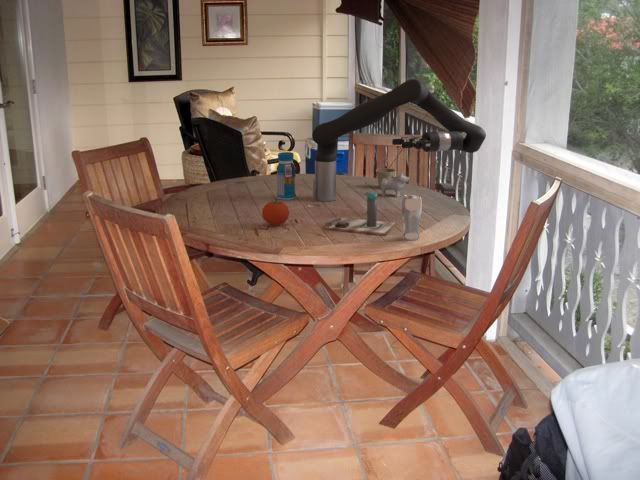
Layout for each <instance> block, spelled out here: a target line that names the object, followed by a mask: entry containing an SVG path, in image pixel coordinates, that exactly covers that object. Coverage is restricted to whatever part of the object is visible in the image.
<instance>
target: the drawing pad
mask: <svg viewBox="0 0 640 480" xmlns="http://www.w3.org/2000/svg"><path fill="white" fill-rule="evenodd" d="M398 225H399V222H394V221H391V222H390V221H385V220H384V221H382V220H377V222H376V227H368V226H367V219H362V218H350V217H341V216H339V217H334V218H333V219H331V220H330V221H328V222H327V225H325V226H324V227H322V230H325V231H335V232H343V233H351V234H354V233H355V234H365V235H371V236H372V235H373V236H383V237H386V236H387V235H388V234H390V233H391V232H392V231H393V230H394V229H395V228H396V227H397V226H398ZM390 231H391V232H390Z"/></svg>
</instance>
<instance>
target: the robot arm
mask: <svg viewBox="0 0 640 480" xmlns="http://www.w3.org/2000/svg"><path fill="white" fill-rule="evenodd" d="M409 103H410V104H412V105H414V106H416V107H419V108H420V109H422V110H424V111H425V112H426V113H428V114H429V115H431V116H432V118H434V119H435V120H436V121H437V122H438V123H439V124H440V125H441V126H442V128H444V129H446V130H447V131H424V133H422V136H401V137H400V138H393V139H392V145H393V146H399V145H401V149H415V150H419V149H420V150H423V152H425V153H431V152H432V153H434V152H436V153H437V152H444V151H454V150H457V151H459V152H465V153H469V154H473V153H476V152H478V151H479V150H480V148H481V147H482V145H483V144H484V142H485V140H486V138H487V133H486V131H485V129H484V128H482V127H481V126H479V125H478V124H476V123H473V122H470V121H468V120H466V119H464V118H463V117H461V116H460V115H459V114H458V113H457V112H455V111H454V110H452V109H451V108H449V107H448V106H447V105H445V104H444V103H442V102H441V101H440V100H438V98H437V97H435V96H434V95H433V94H432V92H430V90H429V89H428V88H427V86H426V84H424V83H423V82H422V81H420V80H419V79H416V78H410V79H407V80H406V81H404V82H402V83H401V84H399V85H398V86H396V87H395V88H393V89H391V90H389V91H388V92H385V93H383V94H381V95H378V96H376V97H374V98H372V99H370V100H367V101H365V102H363V103H361V104H359V105H357V106H355V107H354V108H352V109H350V110H349V111H347V112H345V113H344V114H342V115H341V116H339V117H337V118H335V119H332V120H330V121H327V122H323V123H321V124H317V126H316V127H314V129H313V130H312V134H311V137H312V140H313V142H314V143H315V144H317V147H316V152H315V154H314V177H313V179H312V180H313V181H312V185H313V187H312V188H313V189H312V190H313V192H312V193H313V200H315V201H317V202H318V201H319V202H333V201H335V200H337V155H338V151H339V150H338V149H339V148H338V147H339V138H340V137H342V136H344V135H346V134H349V133H352V132H356V131H358V130H360V129H361V130H362V129H364V128H367V127H369V126H371V125H373V124H375V123H377V122H379V121H380V120H383V119H384V118H385V117H386V116H387V115H388V114H389V113H390V112H392V111H393V110H394V109H397V108H399V107H401V106H403V105H407V104H409ZM462 133H464V134H465V137H464V136H463V134H462ZM405 140H406V141H405Z"/></svg>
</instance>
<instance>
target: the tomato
mask: <svg viewBox="0 0 640 480" xmlns="http://www.w3.org/2000/svg"><path fill="white" fill-rule="evenodd" d="M261 210H262V211H261V215H262V216H261V217H262V219H263V220H264V222H266V223H267V224H269V225H272V226H281V225H283V224H285V222H287V221H288V219H289V216H290V210H289V207H288V206H287V204H285V203H284V202H283V201H277V200H276V199H274V201H273V200H271V201H269V202H268V203H266V204H264V206H263V208H262V209H261Z"/></svg>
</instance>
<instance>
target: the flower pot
mask: <svg viewBox="0 0 640 480" xmlns="http://www.w3.org/2000/svg"><path fill="white" fill-rule="evenodd" d="M396 171H397V170H396V169H395V168H377V169H375V172H376V174H377V183H378V188H379V189H380V190H381V189H382V188H381V185H380V184H381V180H382V179H387V180H392V179H391V176H393V175H394V176H395V173H396Z"/></svg>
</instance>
